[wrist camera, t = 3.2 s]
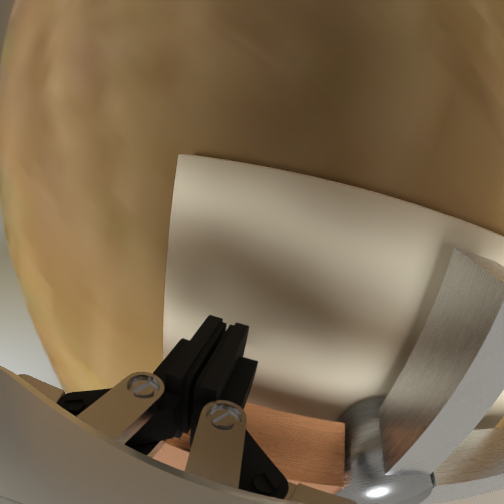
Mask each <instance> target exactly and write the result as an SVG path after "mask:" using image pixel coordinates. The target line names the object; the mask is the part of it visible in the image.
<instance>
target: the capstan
mask: <svg viewBox="0 0 504 504" xmlns="http://www.w3.org/2000/svg"><path fill="white" fill-rule="evenodd" d="M503 390H504V267H503V266H502V265H501V264H499V263H498V262H496V261H493V260H490V259H487V258H485V257H482V256H479V255H476V254H473V253H470V252H467V251H464V250H461V249H457V248H454V251H453V254H452V257H451V260H450V263H449V266H448V269H447V272H446V275H445V277H444V280H443V283H442V285H441V288H440V291H439V293H438V296H437V298H436V301H435V303H434V305H433V308H432V310H431V313H430V315H429V317H428V319H427V322H426V324H425V326H424V328H423V330H422V332H421V335H420V337H419V339H418V341H417V343H416V345H415V347H414V349H413V351H412V353H411V355H410V357H409V358H408V360H407V362H406V364H405V366H404V368H403V370H402V371H401V373H400V375H399V377H398V378H397V380H396V382H395V384H394V385H393V387H392V389H391V390H390V392H389V394H388V395H387V397H380V398H374V399H370V400H366V401H364V402H361V403H359V404H356V405H354V406H353V407H351V408H349V409H348V410H346V411H345V412H344V413H343V414H342V415H341V416H340V417H339V418H338V420H337V421H336V422H334V421H328V420H322V419H317V418H311V417H306V416H301V415H296V414H292V413H287V412H283V411H279V410H274V409H270V408H266V407H262V406H259V405H255V404H251V403H247V402H246V404H245V407H244V412H245V414H246V417H247V423H246V430H247V431H248V432H249V433H250V435H251V436H252V437H253V439H254V440H255V441H256V442H257V444H258V445H259V446H260V447H261V449H262V450H263V451H264V452H265V454H266V455H267V456H268V457H269V459H270V460H271V461H272V462H273V463H274V465H275V466H276V467H277V468H278V469H279V470H280V472H281V473H282V474H283V475H284V476H285V478H286V479H287V481H288V482H291V483H293V484H296V485H298V484H299V483H301V484H303V485H306V486H309V487H312V488H315V489H318V490H321V491H324V492H327V493H331V494H334V495H337V496H341V497H344V498H348V499H351V500H353V501H355V502H357V503H358V504H434V503H441V502H448V501H453V500H459V499H463V498H469V497H473V496H477V495H481V494H485V493H489V492H493V491H496V490H500V489H503V488H504V427H502V428H492V429H478V430H473V429H474V428H475V427H476V426H477V424H478V423H479V422H480V421H481V420H482V418H483V417H484V416H485V414H486V413H487V412H488V411H489V409H490V408H491V407H492V405H493V404H494V402H495V401H496V400H497V398H498V397H499V396H500V394H501V393H502V391H503ZM190 431H191V429H190ZM190 431H189V433H188V434H186V433H183V434H182V436H181V437H180V439H179V438H176V437H174V438H171V439H167V440H166V442H165V444H164V446H163V447H162V448H161V449H160V450H159V451H158V452H157V454H156V455H155V456H154V457H153V459H155V460H158V461H160V462H162V463H165V464H167V465H170V466H172V467H174V468H177V469H179V470H182V471H185V467H186V464H187V460H188V457H189V453H190V450H191V446H190Z"/></svg>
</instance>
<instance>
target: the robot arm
mask: <svg viewBox="0 0 504 504" xmlns="http://www.w3.org/2000/svg"><path fill="white" fill-rule="evenodd" d="M226 327H227V323H224V322H223V319H222V318H219V317H216V316H213V315H209V316H208V317H207V318H206V320H205V321H204V322H203V324H202V325H201V326H200V328H199V329H198V330H197V332H196V333H195V334H194V336H193V337H192V338H191V340H187V339H184V338H182V339H181V340H180V341H179V342H178V343H177V344H176V345H175V347H174V348H173V349H172V350H171V352H170V353H169V354H168V355H167V357H166V358H165V359H164V360H163V361H162V363H161V364H160V365H159V366H158V368H157V369H156V370H155V371H154V373H153V374H151V373H147V372H136V373H132V374H130V375H129V376H127V377H126V378H125V379H123V380H122V381H121V382H120V383H118V384H117V385H116V386H114V387H113V388H110V389H102V390H92V391H81V392H72V393H67V394H65V392H64V390H62V389H59V388H57V387H54V386H52V385H49V384H47V383H45V382H42V381H40V380H38V379H35V378H33V377H31V376H29V375H25V374H20V375H16V374H15V373H13V372H11V371H10V370H8V369H6V368H4V367H2V366H0V504H358V503H357V502H355V501H353V500H351V499H348V498H344V497H341V496H337V495H334V494H331V493H327V492H324V491H321V490H318V489H315V488H312V487H309V486H306V485H303V484H301V483H299V484H298V485H296V484H293V483H291V482H288V481H287V479H286V478H285V476H284V475H283V474H282V473H281V472H280V470H279V469H278V468H277V467H276V466H275V465H274V463H273V462H272V461H271V460H270V459H269V457H268V456H267V455H266V454H265V452H264V451H263V450H262V449H261V447H260V446H259V445H258V444H257V442H256V441H255V440H254V439H253V437H252V436H251V435H250V433H249V432H248V431H247V430H246V423H247V417H246V414H245V412H244V407H245V404H246V402H247V399H248V396H249V393H250V390H251V387H252V384H253V380H254V377H255V373H256V369H257V365H258V361H256V360H252V359H249V358H245V357H243V355H244V351H245V346H246V341H247V336H248V332H249V326H248V325H244V324H240V323H237V322H236V323H235V325H231V324H230V325H229V327H228V329H227V330H226ZM190 429H191V431H190ZM189 431H190V446H191V450H190V453H189V457H188V460H187V464H186V467H185V471H182V470H179V469H177V468H174V467H172V466H170V465H167V464H165V463H162V462H160V461H158V460H155V459H153V457H154V456H155V455H156V454H157V452H158V451H159V450H160V449H161V448H162V447H163V446H164V444H165V442H166V440H167V439H171V438H174V437H176V438H179V439H180V437H181V436H182V434H183V433H186V434H188V433H189Z"/></svg>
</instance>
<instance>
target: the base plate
mask: <svg viewBox="0 0 504 504" xmlns="http://www.w3.org/2000/svg"><path fill="white" fill-rule="evenodd" d="M454 248H457V249H461V250H464V251H467V252H470V253H473V254H476V255H479V256H482V257H485V258H487V259H490V260H493V261H496V262H498V263H499V264H501V265H502V266H503V267H504V236H502V235H500V234H497V233H495V232H492V231H490V230H487V229H485V228H482V227H480V226H477V225H474V224H472V223H469V222H466V221H464V220H461V219H458V218H455V217H453V216H450V215H447V214H444V213H441V212H438V211H435V210H432V209H429V208H426V207H423V206H420V205H417V204H414V203H410V202H407V201H404V200H401V199H397V198H394V197H391V196H387V195H384V194H380V193H377V192H373V191H369V190H366V189H362V188H358V187H354V186H350V185H347V184H343V183H339V182H334V181H330V180H326V179H322V178H318V177H313V176H309V175H304V174H300V173H295V172H290V171H285V170H280V169H275V168H270V167H265V166H260V165H254V164H249V163H243V162H237V161H231V160H225V159H218V158H211V157H204V156H197V155H186V154H179V155H178V162H177V169H176V176H175V184H174V192H173V200H172V209H171V218H170V228H169V239H168V251H167V264H166V280H165V299H164V329H163V360H164V359H165V358H166V357H167V355H168V354H169V353H170V352H171V350H172V349H173V348H174V347H175V345H176V344H177V343H178V342H179V341H180V340H181V339H182V338H184V339H187V340H191V338H192V337H193V336H194V334H195V333H196V332H197V330H198V329H199V328H200V326H201V325H202V324H203V322H204V321H205V320H206V318H207V317H208V316H209V315H213V316H216V317H219V318H222V319H223V322H224V323H227V327H226V330H227V329H228V327H229V325H230V324H231V325H235V323H236V322H237V323H240V324H244V325H248V326H249V332H248V336H247V341H246V346H245V351H244V355H243V357H245V358H249V359H252V360H256V361H258V365H257V369H256V373H255V377H254V380H253V384H252V387H251V390H250V393H249V396H248V399H247V403H251V404H255V405H259V406H262V407H266V408H270V409H274V410H279V411H283V412H287V413H292V414H296V415H301V416H306V417H311V418H317V419H322V420H328V421H334V422H336V421H337V420H338V418H339V417H340V416H341V415H342V414H343V413H344V412H345V411H346V410H348V409H349V408H351V407H353V406H354V405H356V404H359V403H361V402H364V401H366V400H370V399H374V398H380V397H387V395H388V394H389V392H390V390H391V389H392V387H393V385H394V384H395V382H396V380H397V378H398V377H399V375H400V373H401V371H402V370H403V368H404V366H405V364H406V362H407V360H408V358H409V357H410V355H411V353H412V351H413V349H414V347H415V345H416V343H417V341H418V339H419V337H420V335H421V332H422V330H423V328H424V326H425V324H426V322H427V319H428V317H429V315H430V313H431V310H432V308H433V305H434V303H435V301H436V298H437V296H438V293H439V291H440V288H441V285H442V283H443V280H444V277H445V275H446V272H447V269H448V266H449V263H450V260H451V257H452V254H453V251H454ZM503 416H504V390H503V391H502V393H501V394H500V396H499V397H498V398H497V400H496V401H495V402H494V404H493V405H492V407H491V408H490V409H489V411H488V412H487V413H486V414H485V416H484V417H483V418H482V420H481V421H480V422H479V423H478V424H477V426H476V427H475V428H474V429H473V430H478V429H492V428H494V427H495V426H496V425H497V424H498V423H499V421H500V420H501V419H502V418H503Z"/></svg>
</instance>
